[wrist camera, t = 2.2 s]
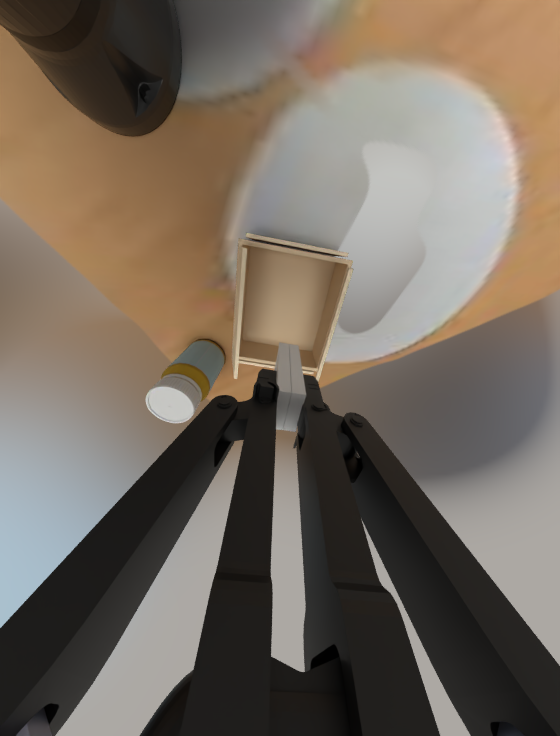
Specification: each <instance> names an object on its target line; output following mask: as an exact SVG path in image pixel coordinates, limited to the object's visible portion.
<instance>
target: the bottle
mask: <svg viewBox="0 0 560 736" xmlns="http://www.w3.org/2000/svg"><path fill="white" fill-rule="evenodd" d="M224 362H225V355H224V353H223V350H222V349H221V348H220V347H219V346H218V345H217V344H216V343H214V342H212V341H209V340H197V341H195V342H194V343H192V344H191V345H190V346H189V347H188V348H187V349H186V350H185V351H184V352H183V353H182V354H181V355H180V356H179V357H178V358H177V359H176V360H175V361H174V362H173V363H172V364H171V365H170V366H169V367H168V368H167V369H166V370H165V371H164V372H163V374H162V377H161V380H160V381H158V382H157V384H155V385H154V387H152V388H151V390H150V391H149V392H148V393H147V396H146V404H147V407H148V409H149V410H150V411H151V413H153V414H154V415H155V416H156V417H158V418H159V419H161V420H163V421H166V422H170V423H182V422H185V421H187V420H189V419H190V418H191V417H192V415H193V414H194V413H195V411H196V409H197V407H198V405H199V403H200V402H201V401H203V400H204V399H205V398H206V397H207V395H208V393H209V392H210V390H211V388H212V386H213V384H214V382H215V380H216V378H217V377H218V375H219V373H220V371H221V369H222V367H223V365H224Z"/></svg>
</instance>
